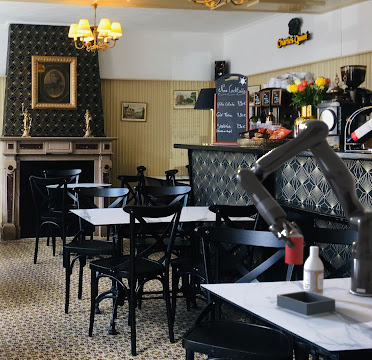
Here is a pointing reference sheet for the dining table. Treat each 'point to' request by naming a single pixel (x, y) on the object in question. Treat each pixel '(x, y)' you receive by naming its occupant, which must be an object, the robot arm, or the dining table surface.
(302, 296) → the tub
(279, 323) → the dining table surface
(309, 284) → the bath foam
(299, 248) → the can
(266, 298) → the dining table surface
